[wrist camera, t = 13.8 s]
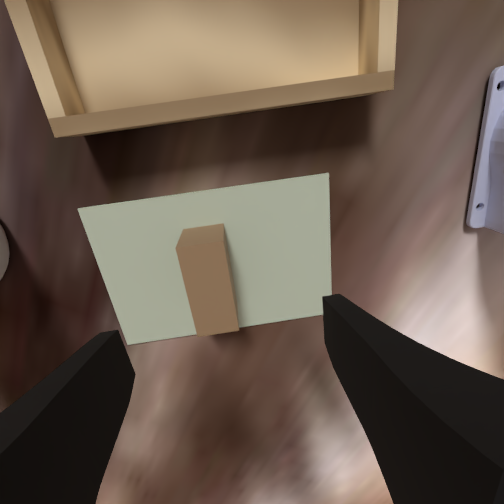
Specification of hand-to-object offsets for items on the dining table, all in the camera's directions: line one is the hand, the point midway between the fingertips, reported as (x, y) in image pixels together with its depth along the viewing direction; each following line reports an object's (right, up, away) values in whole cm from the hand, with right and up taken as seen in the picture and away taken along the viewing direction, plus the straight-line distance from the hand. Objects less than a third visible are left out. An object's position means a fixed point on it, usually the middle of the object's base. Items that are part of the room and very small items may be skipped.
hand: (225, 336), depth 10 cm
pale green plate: (-1, +2, +10) cm, 11 cm away
